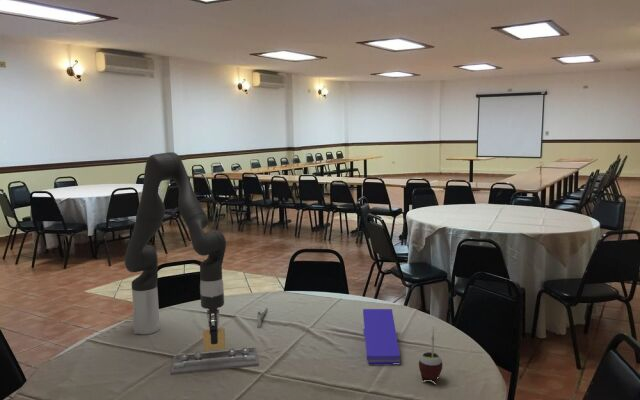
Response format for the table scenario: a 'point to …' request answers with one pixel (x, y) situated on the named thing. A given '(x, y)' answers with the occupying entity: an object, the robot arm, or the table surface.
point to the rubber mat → (214, 366)
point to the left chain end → (197, 361)
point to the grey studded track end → (233, 357)
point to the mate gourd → (430, 364)
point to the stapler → (380, 336)
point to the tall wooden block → (208, 340)
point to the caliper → (261, 315)
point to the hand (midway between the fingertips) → (214, 341)
